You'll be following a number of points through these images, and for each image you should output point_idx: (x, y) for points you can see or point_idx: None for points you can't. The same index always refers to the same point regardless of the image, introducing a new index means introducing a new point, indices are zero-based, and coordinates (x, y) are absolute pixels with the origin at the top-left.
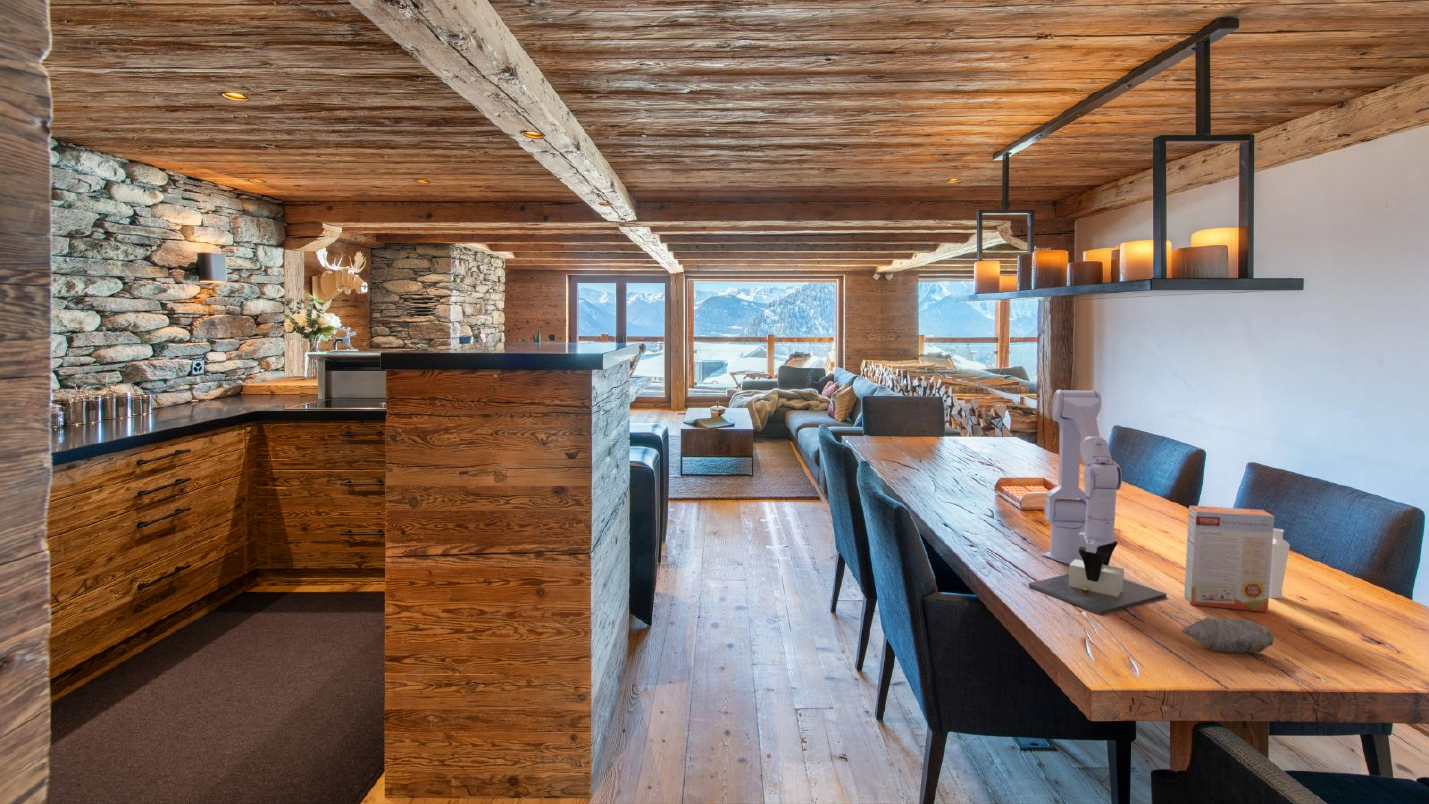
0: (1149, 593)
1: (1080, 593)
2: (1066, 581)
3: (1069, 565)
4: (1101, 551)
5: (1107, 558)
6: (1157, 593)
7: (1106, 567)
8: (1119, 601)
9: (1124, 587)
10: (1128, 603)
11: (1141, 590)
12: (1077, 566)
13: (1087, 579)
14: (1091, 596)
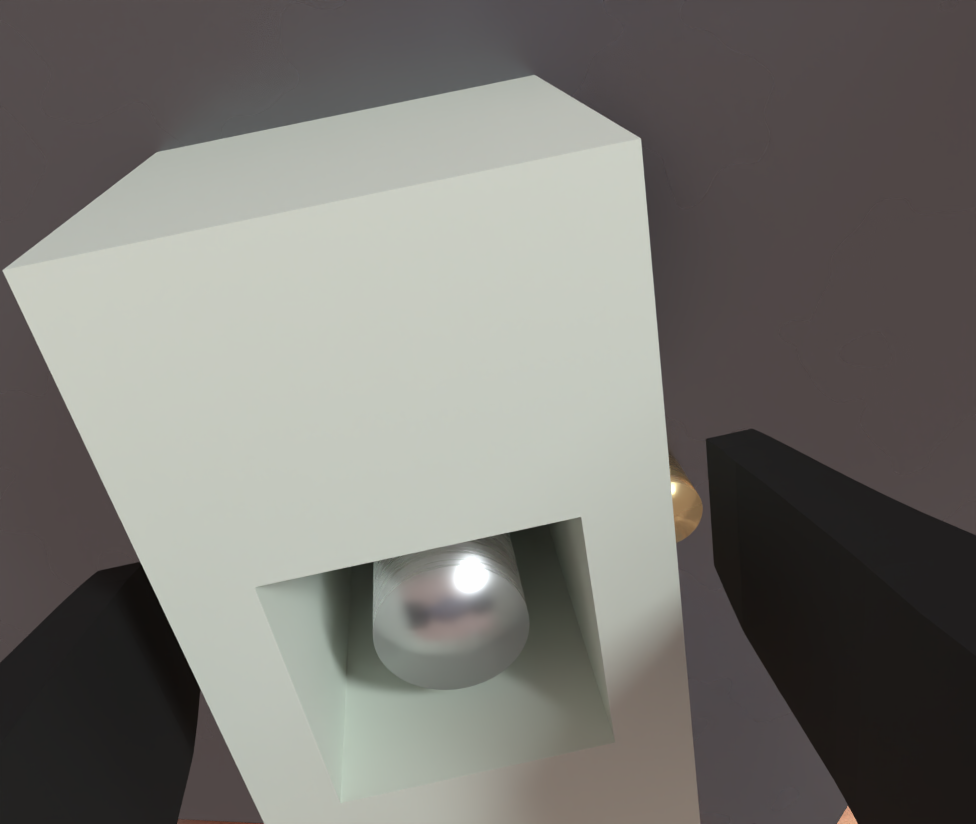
0: (712, 794)
1: (25, 424)
2: (342, 19)
3: (14, 268)
4: (944, 819)
5: (851, 781)
6: (765, 822)
7: (558, 769)
8: (222, 762)
9: (724, 615)
10: (250, 819)
11: (751, 730)
12: (92, 456)
13: (88, 581)
14: (70, 550)
